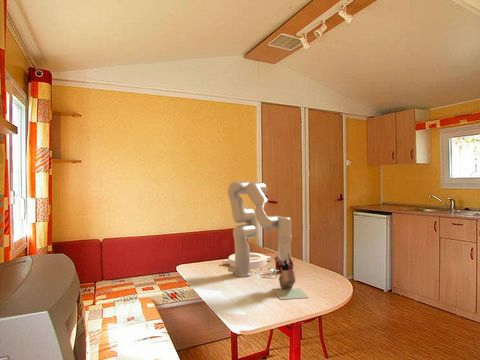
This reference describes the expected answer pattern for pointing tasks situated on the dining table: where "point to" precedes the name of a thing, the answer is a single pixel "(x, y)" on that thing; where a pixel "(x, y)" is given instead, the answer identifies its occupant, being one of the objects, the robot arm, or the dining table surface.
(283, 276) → the walnut block
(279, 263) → the toy fire truck
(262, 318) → the dining table surface
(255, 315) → the dining table surface
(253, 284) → the dining table surface
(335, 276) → the dining table surface
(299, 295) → the sage mat
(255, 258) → the white circle with bar
